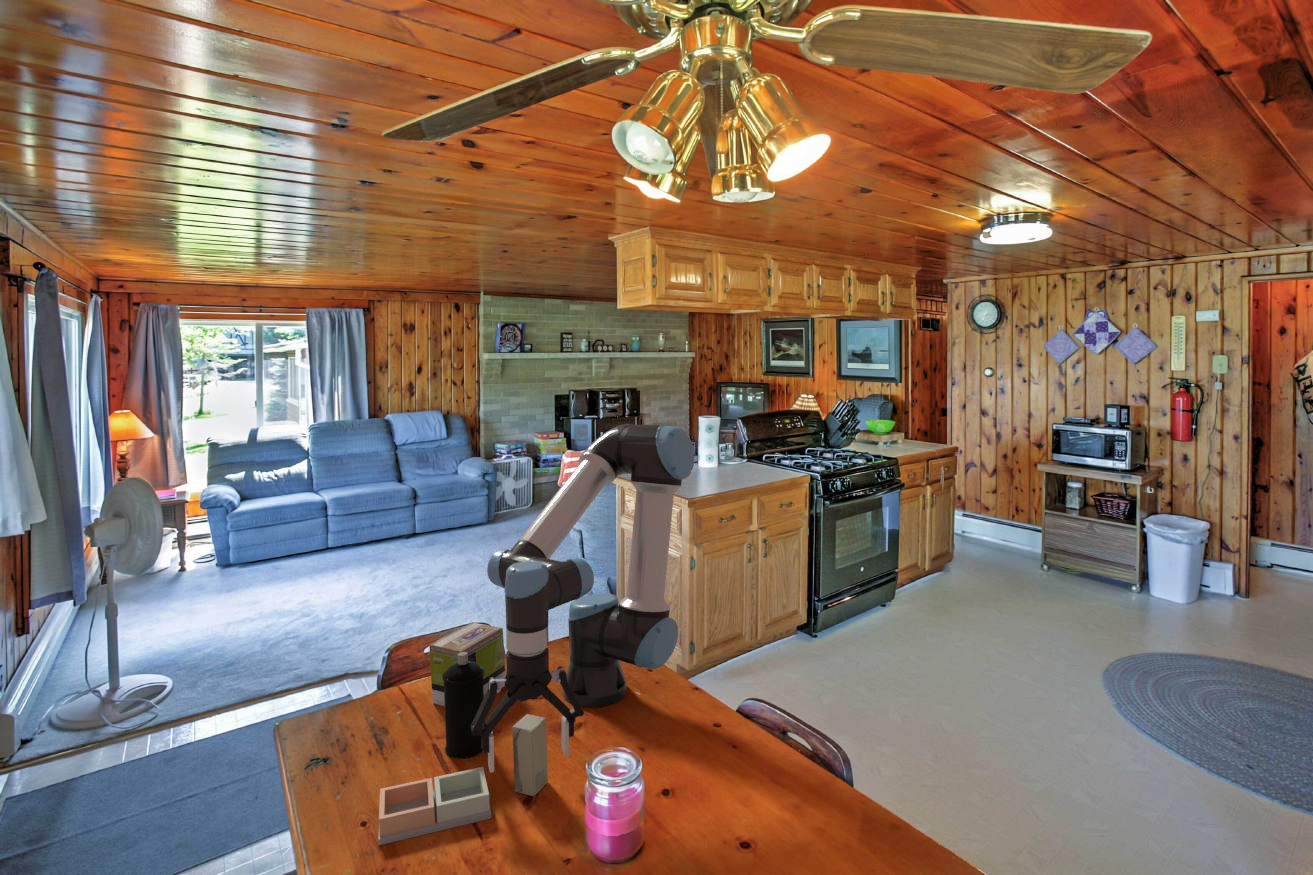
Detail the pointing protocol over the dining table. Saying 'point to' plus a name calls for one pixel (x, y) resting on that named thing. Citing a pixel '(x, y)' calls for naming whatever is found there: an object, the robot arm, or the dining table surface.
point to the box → (530, 754)
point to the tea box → (481, 649)
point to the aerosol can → (462, 707)
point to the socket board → (432, 805)
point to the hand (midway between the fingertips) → (529, 760)
